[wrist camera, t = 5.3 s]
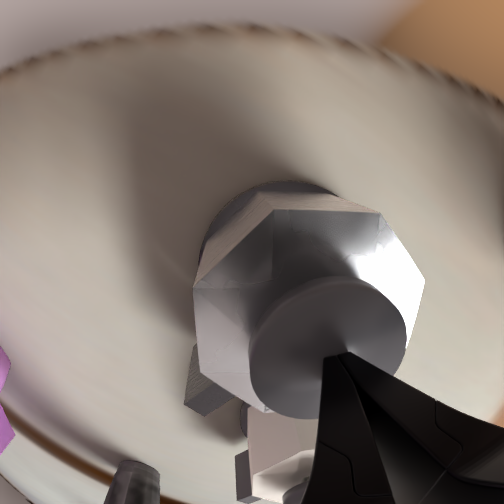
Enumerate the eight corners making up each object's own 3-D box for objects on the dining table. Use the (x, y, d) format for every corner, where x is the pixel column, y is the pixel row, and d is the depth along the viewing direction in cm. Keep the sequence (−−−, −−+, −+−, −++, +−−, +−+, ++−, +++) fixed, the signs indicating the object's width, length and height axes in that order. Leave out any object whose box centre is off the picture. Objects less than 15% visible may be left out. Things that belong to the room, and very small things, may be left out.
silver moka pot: (291, 143, 14) (334, 130, 8) (390, 265, 16) (454, 314, 10) (143, 291, 16) (102, 360, 10) (256, 379, 18) (265, 457, 12)
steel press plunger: (299, 210, 13) (354, 251, 7) (362, 282, 14) (427, 350, 8) (219, 285, 13) (212, 372, 8) (289, 345, 15) (316, 434, 9)
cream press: (313, 344, 18) (343, 419, 11) (377, 399, 20) (407, 455, 14) (197, 426, 20) (191, 493, 13) (275, 462, 22) (283, 517, 16)
